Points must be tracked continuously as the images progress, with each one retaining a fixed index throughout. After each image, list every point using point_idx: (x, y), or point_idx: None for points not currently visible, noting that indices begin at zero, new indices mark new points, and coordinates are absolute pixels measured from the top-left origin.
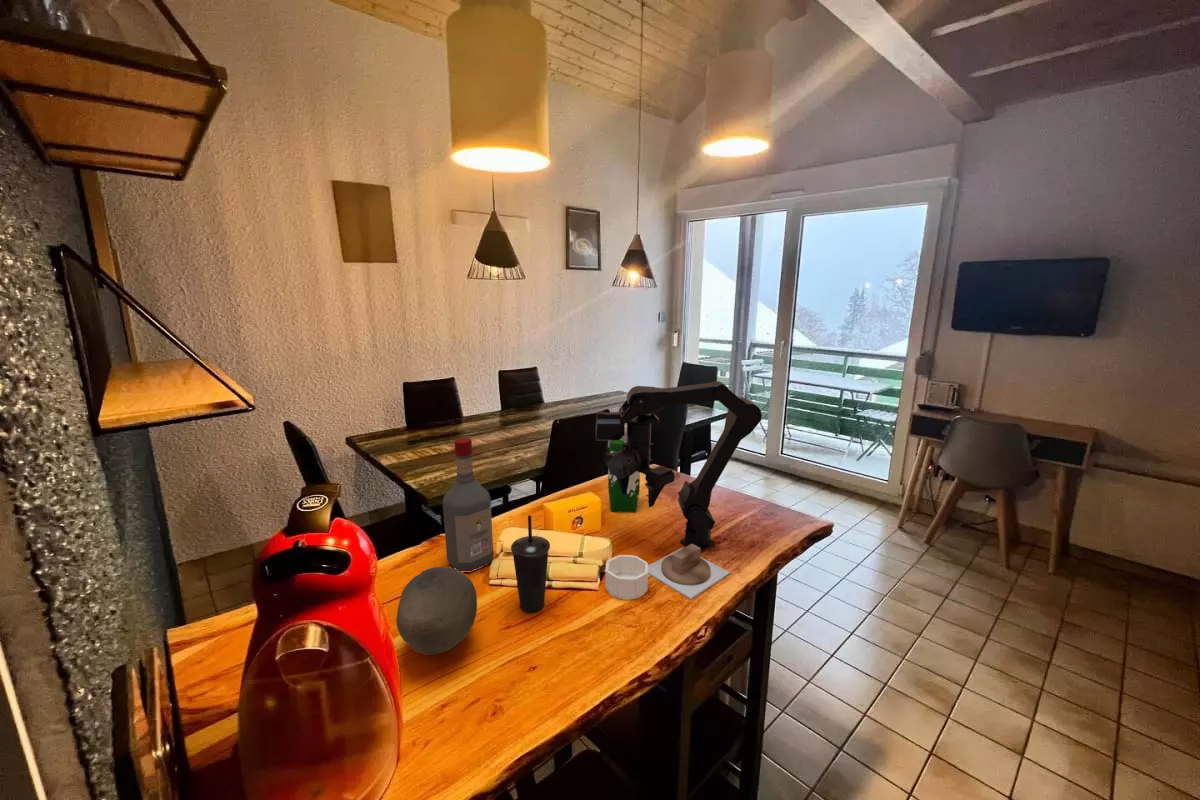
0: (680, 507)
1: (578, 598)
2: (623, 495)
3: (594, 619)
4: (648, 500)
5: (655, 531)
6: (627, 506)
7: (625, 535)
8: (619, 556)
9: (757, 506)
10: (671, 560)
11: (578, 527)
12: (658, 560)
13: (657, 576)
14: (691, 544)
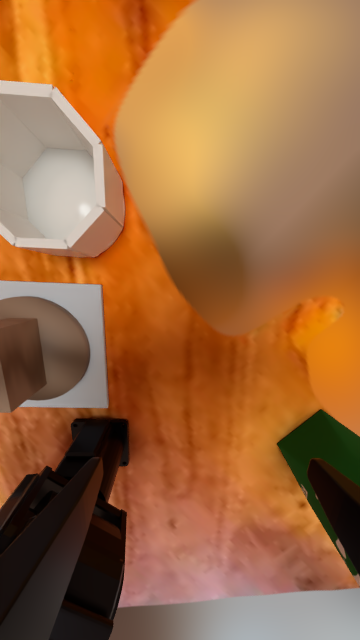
0: (92, 533)
1: (111, 61)
2: (336, 469)
3: (14, 23)
4: (70, 506)
5: (193, 417)
6: (301, 444)
7: (229, 361)
8: (96, 203)
9: (123, 592)
10: (67, 349)
11: (339, 307)
12: (102, 336)
13: (56, 287)
14: (7, 408)
